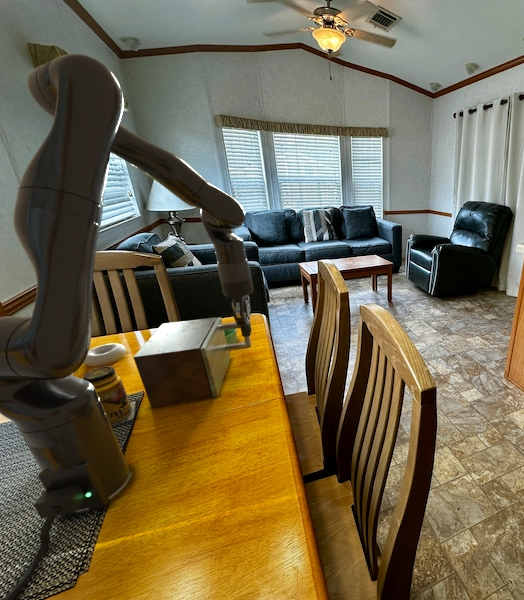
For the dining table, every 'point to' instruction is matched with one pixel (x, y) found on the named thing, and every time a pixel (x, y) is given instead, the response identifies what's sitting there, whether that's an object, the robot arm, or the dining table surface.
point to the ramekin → (231, 336)
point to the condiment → (111, 394)
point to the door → (219, 353)
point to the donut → (105, 354)
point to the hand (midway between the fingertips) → (247, 334)
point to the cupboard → (175, 363)
